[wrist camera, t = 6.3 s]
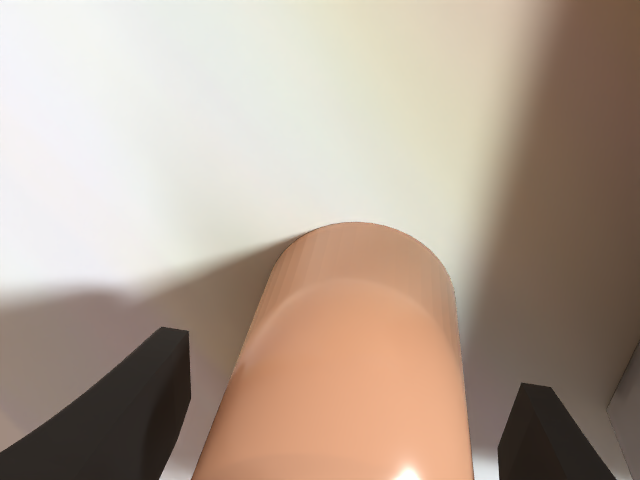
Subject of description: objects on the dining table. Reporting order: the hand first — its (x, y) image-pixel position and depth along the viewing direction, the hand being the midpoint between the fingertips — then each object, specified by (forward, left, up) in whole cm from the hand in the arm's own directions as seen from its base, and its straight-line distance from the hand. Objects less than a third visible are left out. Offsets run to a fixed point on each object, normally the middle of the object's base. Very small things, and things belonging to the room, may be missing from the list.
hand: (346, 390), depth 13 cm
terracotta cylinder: (0, 0, -3) cm, 3 cm away
